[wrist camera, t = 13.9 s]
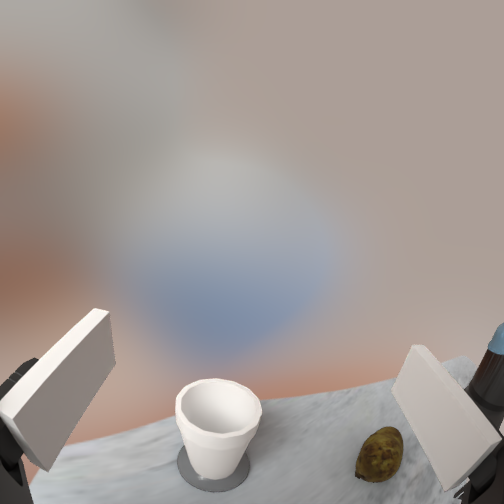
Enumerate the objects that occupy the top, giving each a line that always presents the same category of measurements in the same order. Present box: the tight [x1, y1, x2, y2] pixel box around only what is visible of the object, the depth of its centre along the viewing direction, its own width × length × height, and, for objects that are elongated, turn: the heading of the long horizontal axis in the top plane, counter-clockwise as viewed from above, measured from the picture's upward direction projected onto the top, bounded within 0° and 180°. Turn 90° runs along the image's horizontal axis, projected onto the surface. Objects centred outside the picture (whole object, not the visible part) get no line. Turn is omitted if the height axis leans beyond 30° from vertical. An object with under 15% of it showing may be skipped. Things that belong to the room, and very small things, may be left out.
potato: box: [355, 427, 403, 483], centre depth 29 cm, size 8×13×8 cm, turn 119°
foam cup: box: [175, 378, 262, 480], centre depth 28 cm, size 10×9×13 cm
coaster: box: [177, 445, 249, 492], centre depth 30 cm, size 10×10×1 cm
